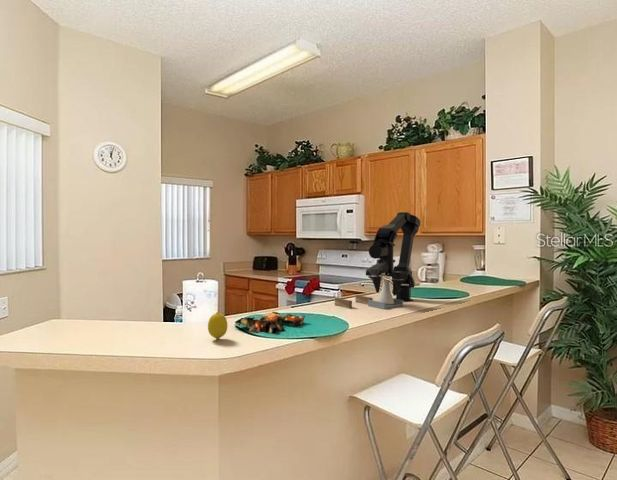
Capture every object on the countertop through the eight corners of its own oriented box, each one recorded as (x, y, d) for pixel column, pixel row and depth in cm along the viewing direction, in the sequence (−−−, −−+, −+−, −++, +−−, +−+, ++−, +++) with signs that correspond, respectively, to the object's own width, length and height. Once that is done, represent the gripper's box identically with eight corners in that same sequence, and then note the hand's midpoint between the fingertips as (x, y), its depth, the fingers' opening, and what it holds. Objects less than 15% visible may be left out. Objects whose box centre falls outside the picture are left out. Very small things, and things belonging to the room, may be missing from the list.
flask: (393, 302, 173) (393, 279, 173) (395, 305, 166) (395, 281, 165) (376, 301, 174) (376, 278, 173) (377, 304, 166) (377, 280, 166)
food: (272, 337, 120) (272, 326, 120) (227, 329, 131) (227, 318, 131) (311, 323, 139) (311, 313, 139) (269, 317, 149) (269, 308, 149)
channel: (357, 301, 179) (357, 295, 179) (372, 304, 172) (372, 297, 172) (334, 305, 170) (334, 298, 170) (349, 308, 163) (349, 301, 163)
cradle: (386, 302, 177) (386, 297, 177) (403, 306, 170) (403, 300, 170) (368, 305, 169) (368, 299, 169) (384, 309, 162) (384, 303, 162)
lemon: (219, 336, 120) (219, 309, 120) (231, 339, 116) (231, 312, 116) (203, 339, 116) (203, 312, 116) (215, 343, 112) (216, 315, 112)
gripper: (356, 256, 171) (356, 293, 172) (391, 259, 157) (390, 299, 157) (374, 255, 178) (374, 290, 179) (408, 258, 164) (408, 296, 164)
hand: (385, 294), depth 170 cm, fingers open, 9 cm apart
